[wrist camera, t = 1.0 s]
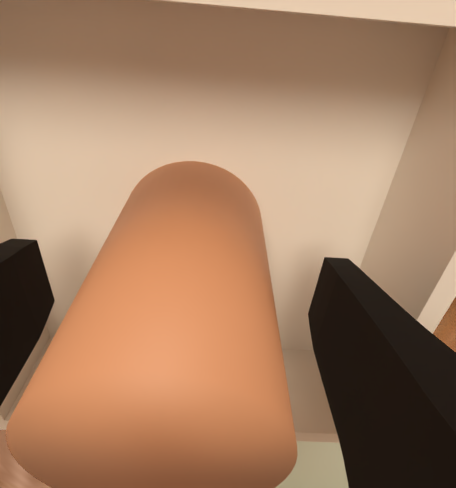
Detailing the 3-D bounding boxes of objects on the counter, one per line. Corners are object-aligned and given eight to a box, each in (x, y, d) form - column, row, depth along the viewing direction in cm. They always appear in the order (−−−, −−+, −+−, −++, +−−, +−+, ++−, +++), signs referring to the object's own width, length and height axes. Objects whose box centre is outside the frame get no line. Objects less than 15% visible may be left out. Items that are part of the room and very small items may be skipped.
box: (473, -1, 8) (642, -9, 5) (335, 351, 15) (364, 443, 12) (-92, -54, 8) (-342, -105, 4) (44, 336, 15) (-9, 428, 12)
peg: (270, 166, 10) (328, 382, 4) (253, 281, 12) (274, 515, 7) (118, 155, 10) (-42, 365, 4) (131, 273, 12) (44, 509, 6)
